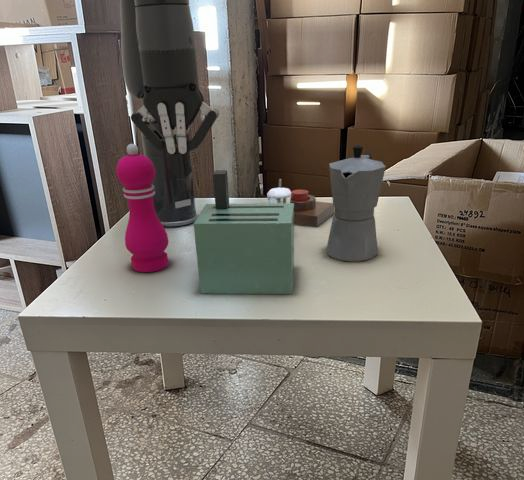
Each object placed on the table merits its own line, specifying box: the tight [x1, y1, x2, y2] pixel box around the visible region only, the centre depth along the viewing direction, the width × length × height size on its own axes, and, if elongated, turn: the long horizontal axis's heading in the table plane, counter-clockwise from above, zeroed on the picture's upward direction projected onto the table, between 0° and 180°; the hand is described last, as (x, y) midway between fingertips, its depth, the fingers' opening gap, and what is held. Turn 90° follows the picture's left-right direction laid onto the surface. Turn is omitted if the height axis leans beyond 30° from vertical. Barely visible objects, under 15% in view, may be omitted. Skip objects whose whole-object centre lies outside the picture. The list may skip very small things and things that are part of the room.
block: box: [291, 194, 335, 228], centre depth 110 cm, size 12×10×4 cm
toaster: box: [192, 202, 295, 295], centre depth 80 cm, size 14×10×11 cm
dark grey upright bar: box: [212, 169, 230, 209], centre depth 79 cm, size 2×2×5 cm
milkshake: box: [266, 178, 292, 203], centre depth 99 cm, size 4×5×10 cm
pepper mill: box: [115, 143, 170, 273], centre depth 85 cm, size 7×7×20 cm
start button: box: [291, 189, 310, 201], centre depth 109 cm, size 4×4×2 cm
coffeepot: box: [326, 144, 387, 262], centre depth 88 cm, size 15×9×18 cm, turn 157°
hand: (182, 178), depth 79 cm, fingers closed
